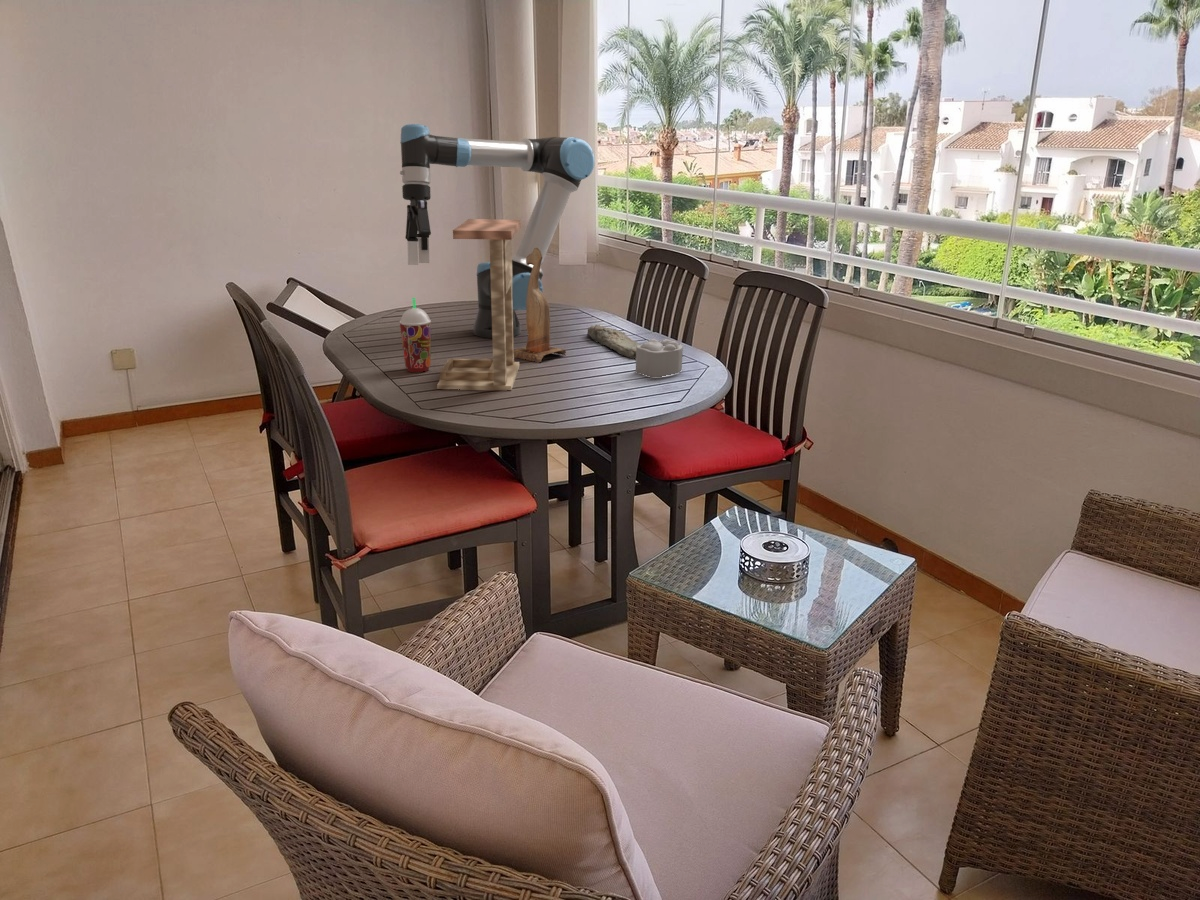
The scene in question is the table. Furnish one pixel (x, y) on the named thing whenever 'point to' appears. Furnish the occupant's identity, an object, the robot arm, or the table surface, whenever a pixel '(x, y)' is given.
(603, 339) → the long grey stone
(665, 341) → the lumpy-topped squat cylinder
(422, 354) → the smoothie
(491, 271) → the wooden pedestal stand
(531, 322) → the bird sculpture
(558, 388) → the table surface
